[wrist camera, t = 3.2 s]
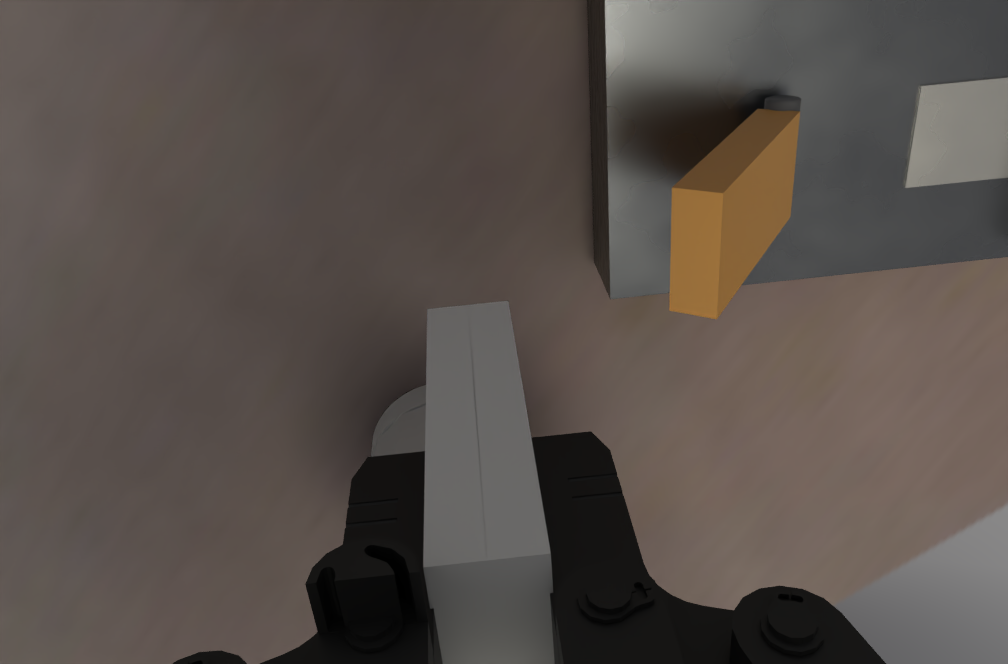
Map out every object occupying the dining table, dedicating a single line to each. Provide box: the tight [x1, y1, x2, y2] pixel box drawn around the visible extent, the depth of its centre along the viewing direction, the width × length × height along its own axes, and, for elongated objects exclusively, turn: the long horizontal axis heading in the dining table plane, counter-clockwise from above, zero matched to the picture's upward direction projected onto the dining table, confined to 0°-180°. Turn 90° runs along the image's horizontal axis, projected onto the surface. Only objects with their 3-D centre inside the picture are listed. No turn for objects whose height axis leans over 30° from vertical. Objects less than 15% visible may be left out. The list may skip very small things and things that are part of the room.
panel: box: [587, 0, 1008, 299], centre depth 25 cm, size 16×15×5 cm
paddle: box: [669, 95, 801, 319], centre depth 23 cm, size 1×4×8 cm
